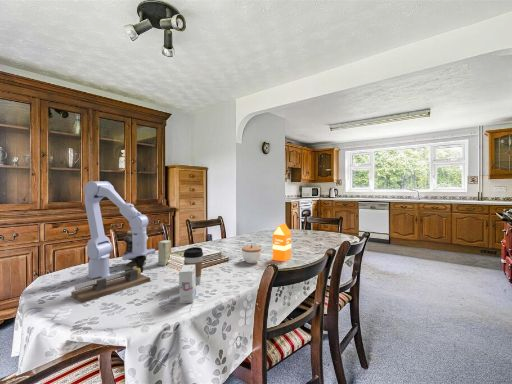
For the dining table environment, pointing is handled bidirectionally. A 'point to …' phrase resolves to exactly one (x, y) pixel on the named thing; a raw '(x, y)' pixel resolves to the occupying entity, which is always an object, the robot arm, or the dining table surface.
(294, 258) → the dining table surface
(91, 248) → the robot arm
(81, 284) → the shaft
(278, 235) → the orange juice
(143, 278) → the shaft frame
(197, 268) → the coffee cup
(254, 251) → the lidded jar
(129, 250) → the apothecary jar
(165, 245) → the skincare box
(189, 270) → the ink box
